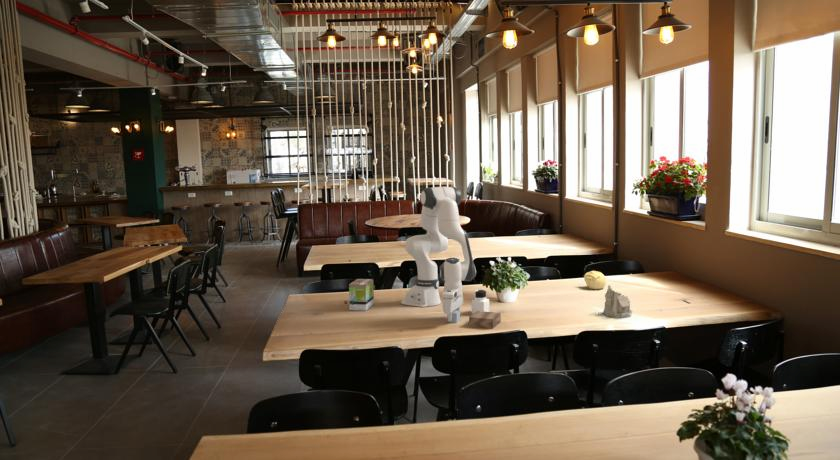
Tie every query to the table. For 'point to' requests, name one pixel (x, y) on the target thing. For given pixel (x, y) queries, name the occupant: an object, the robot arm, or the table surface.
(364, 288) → the tea box
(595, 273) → the pale yellow lumpy ball
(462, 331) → the table surface
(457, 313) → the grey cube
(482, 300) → the medicine bottle
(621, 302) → the grey rock
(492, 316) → the walnut block
